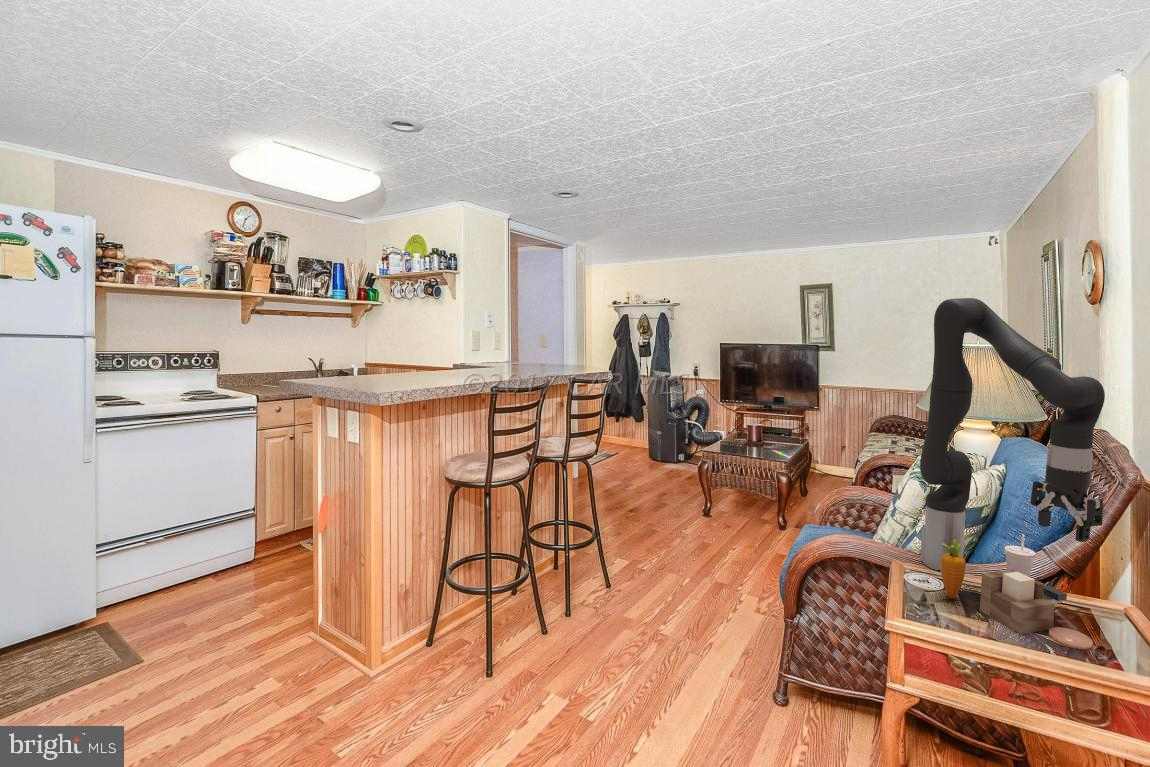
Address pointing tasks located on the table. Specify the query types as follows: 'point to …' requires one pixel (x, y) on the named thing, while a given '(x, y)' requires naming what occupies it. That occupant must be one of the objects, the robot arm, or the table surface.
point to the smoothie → (1019, 558)
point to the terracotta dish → (1070, 638)
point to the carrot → (952, 569)
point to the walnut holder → (1015, 605)
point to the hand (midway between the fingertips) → (1062, 533)
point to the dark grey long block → (1054, 595)
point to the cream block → (1018, 586)
